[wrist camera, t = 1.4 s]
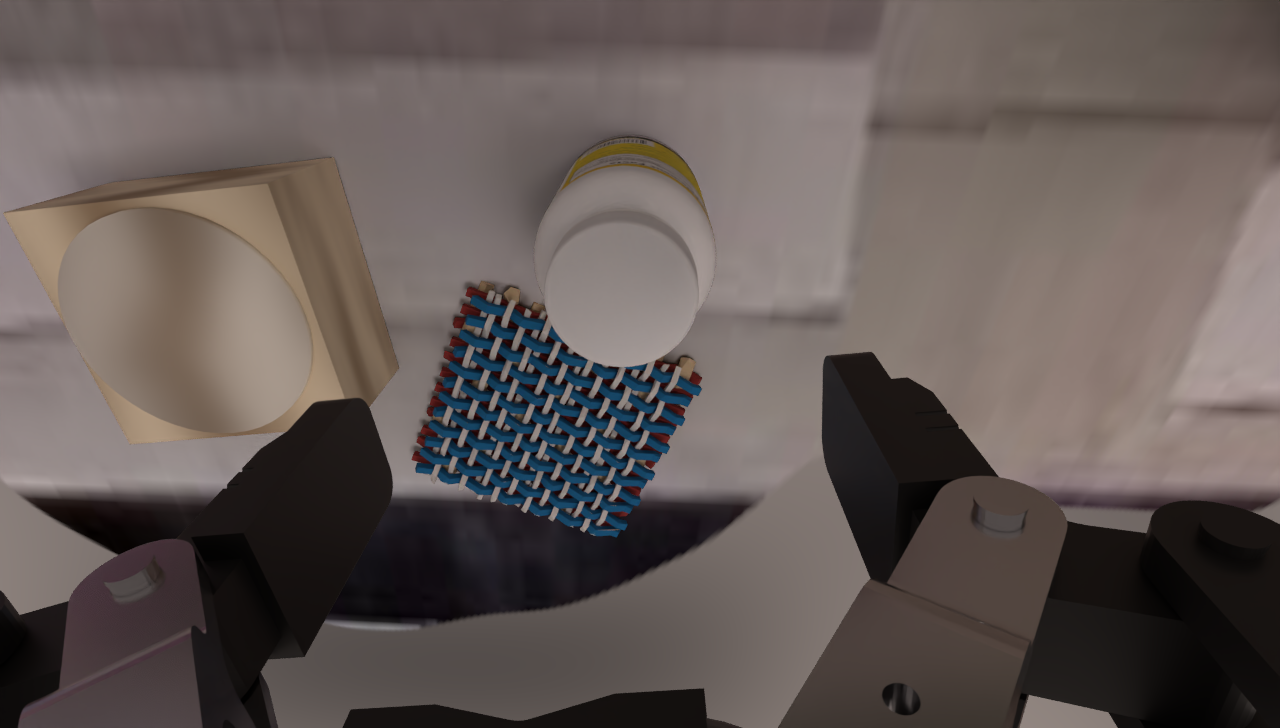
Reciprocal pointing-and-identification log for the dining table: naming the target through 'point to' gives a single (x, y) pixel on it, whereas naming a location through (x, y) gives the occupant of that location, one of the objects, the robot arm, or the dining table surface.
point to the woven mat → (548, 417)
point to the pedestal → (213, 297)
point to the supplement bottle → (625, 252)
